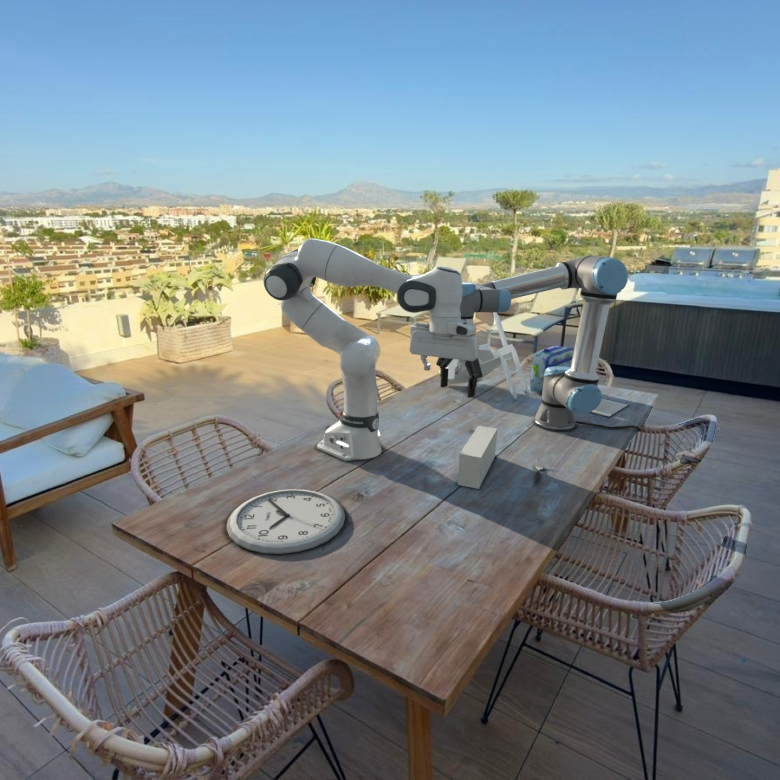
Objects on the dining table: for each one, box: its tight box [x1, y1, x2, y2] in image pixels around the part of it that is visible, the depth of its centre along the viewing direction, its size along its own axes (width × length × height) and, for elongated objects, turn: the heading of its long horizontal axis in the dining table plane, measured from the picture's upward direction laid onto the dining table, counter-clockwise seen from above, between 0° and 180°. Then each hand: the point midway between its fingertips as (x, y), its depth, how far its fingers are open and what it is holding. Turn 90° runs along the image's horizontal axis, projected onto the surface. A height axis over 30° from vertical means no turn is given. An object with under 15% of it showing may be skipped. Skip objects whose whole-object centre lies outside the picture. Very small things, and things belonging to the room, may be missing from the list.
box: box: [457, 425, 498, 490], centre depth 164 cm, size 25×6×10 cm, turn 158°
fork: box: [534, 457, 545, 484], centre depth 163 cm, size 3×16×2 cm, turn 160°
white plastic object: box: [438, 312, 531, 400], centre depth 245 cm, size 37×45×31 cm
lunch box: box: [529, 345, 574, 394], centre depth 244 cm, size 26×11×21 cm, turn 135°
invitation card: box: [591, 398, 629, 418], centre depth 226 cm, size 21×1×15 cm
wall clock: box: [226, 488, 346, 555], centre depth 135 cm, size 30×2×30 cm
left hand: (442, 372), depth 154 cm, fingers open, 8 cm apart
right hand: (457, 391), depth 179 cm, fingers open, 13 cm apart
